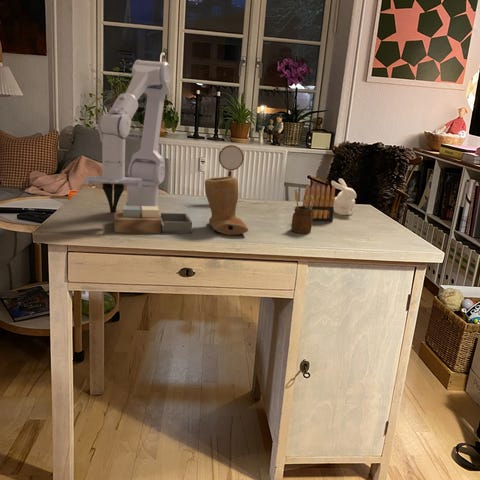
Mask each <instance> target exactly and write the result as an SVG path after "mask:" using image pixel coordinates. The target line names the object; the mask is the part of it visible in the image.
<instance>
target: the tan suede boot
mask: <svg viewBox="0 0 480 480" xmlns="http://www.w3.org/2000/svg"><path fill="white" fill-rule="evenodd" d="M204 190H205V191H204V192H205V196H206V199H207V202H208V206H209V209H210V213H211V217H210V218H209V219H208V222H209V225H210V226H211V227H212V229H213V231H216V232H219V233H222V234H224V235H228V236H234V235H236V236H237V235H241V234H245V233H247V232H248V231H249V227H248V226H247V225H246V224H245V222H244V221H243V220H242V219H241V218H240V217H237V216H236V211H237V204H238V201H239V182H238V179H237V178H236V177H235V176H234V177H233V176H231V177H228V176H219V177H210V178H206V179H205V181H204Z"/></svg>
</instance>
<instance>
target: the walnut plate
mask: <svg viewBox="0 0 480 480" xmlns="http://www.w3.org/2000/svg"><path fill="white" fill-rule="evenodd" d="M160 216H161V214H160V215H159V218H158V217H142V215H141V211H140V217H123V209H116V213H113V217H114V218H113V224H114V225H113V227H114V233H138V234H139V233H140V234H141V233H142V234H143V233H145V234H146V233H149V234H150V233H152V234H161V233H162V232H161V218H160Z"/></svg>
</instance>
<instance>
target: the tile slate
mask: <svg viewBox="0 0 480 480" xmlns="http://www.w3.org/2000/svg"><path fill="white" fill-rule="evenodd" d="M122 210H123V217H140V206H126V205H122Z"/></svg>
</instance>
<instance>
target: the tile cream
mask: <svg viewBox="0 0 480 480" xmlns="http://www.w3.org/2000/svg"><path fill="white" fill-rule="evenodd" d="M159 213H160V208H159V205H158V206H141V215H142V217H158V218H159Z"/></svg>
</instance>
